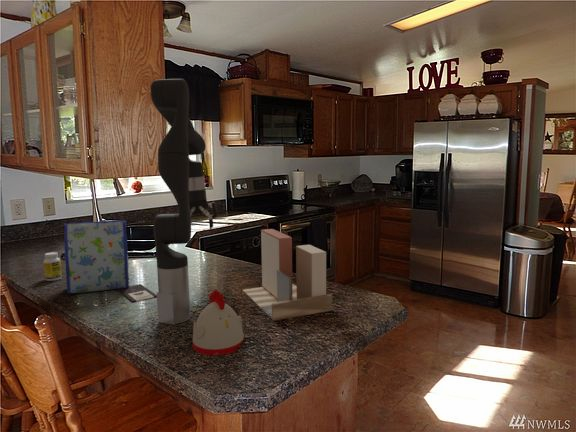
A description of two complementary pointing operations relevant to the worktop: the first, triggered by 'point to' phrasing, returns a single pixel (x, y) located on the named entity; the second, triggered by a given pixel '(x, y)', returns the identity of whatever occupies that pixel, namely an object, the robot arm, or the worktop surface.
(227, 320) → the kitchen timer
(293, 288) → the rack
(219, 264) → the worktop surface
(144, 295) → the chocolate bar
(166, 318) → the robot arm
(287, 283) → the bookend
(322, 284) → the cream book
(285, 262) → the terracotta book
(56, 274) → the pill bottle
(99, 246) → the lunch bag
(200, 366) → the worktop surface
